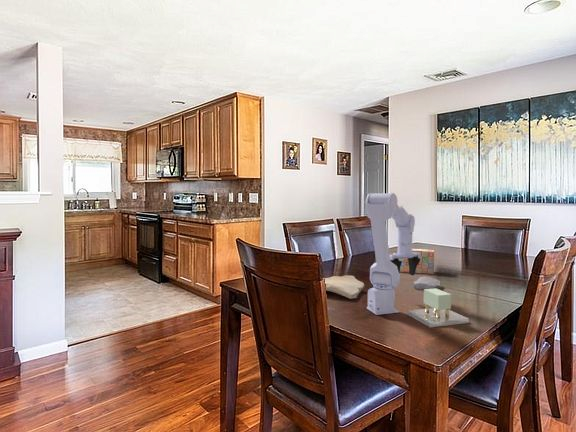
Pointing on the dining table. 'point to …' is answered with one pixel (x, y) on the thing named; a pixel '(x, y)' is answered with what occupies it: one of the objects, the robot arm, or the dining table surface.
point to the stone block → (426, 283)
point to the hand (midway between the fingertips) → (404, 275)
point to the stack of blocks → (425, 262)
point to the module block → (437, 299)
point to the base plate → (437, 317)
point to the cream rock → (344, 286)
